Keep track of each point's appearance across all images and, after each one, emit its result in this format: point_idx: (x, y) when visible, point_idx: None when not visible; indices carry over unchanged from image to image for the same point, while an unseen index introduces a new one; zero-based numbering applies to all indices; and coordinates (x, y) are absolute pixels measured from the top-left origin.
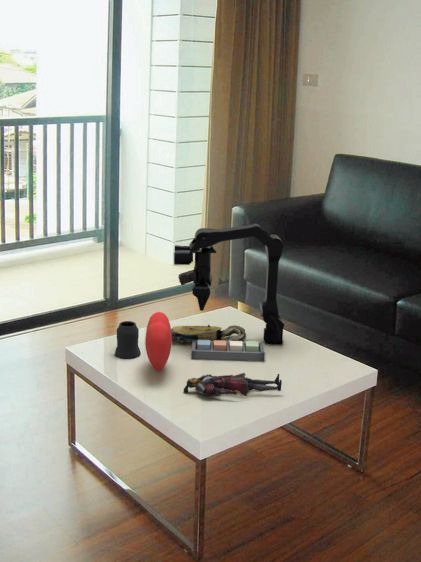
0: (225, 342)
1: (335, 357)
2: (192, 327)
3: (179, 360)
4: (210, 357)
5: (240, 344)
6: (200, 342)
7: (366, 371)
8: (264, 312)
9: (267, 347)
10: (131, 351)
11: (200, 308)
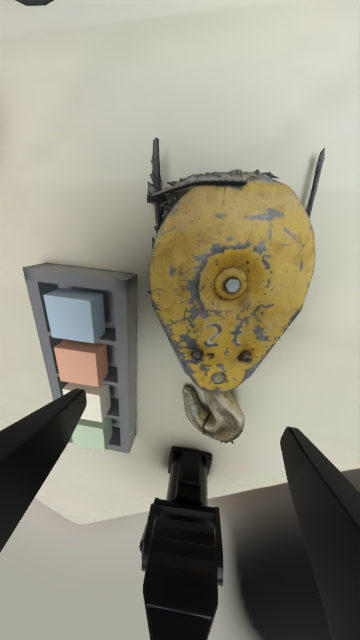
0: (83, 382)
1: (117, 509)
2: (253, 292)
3: (25, 220)
4: None
5: None
6: (65, 307)
7: (71, 519)
8: (147, 565)
9: (155, 445)
10: None
11: (57, 404)
